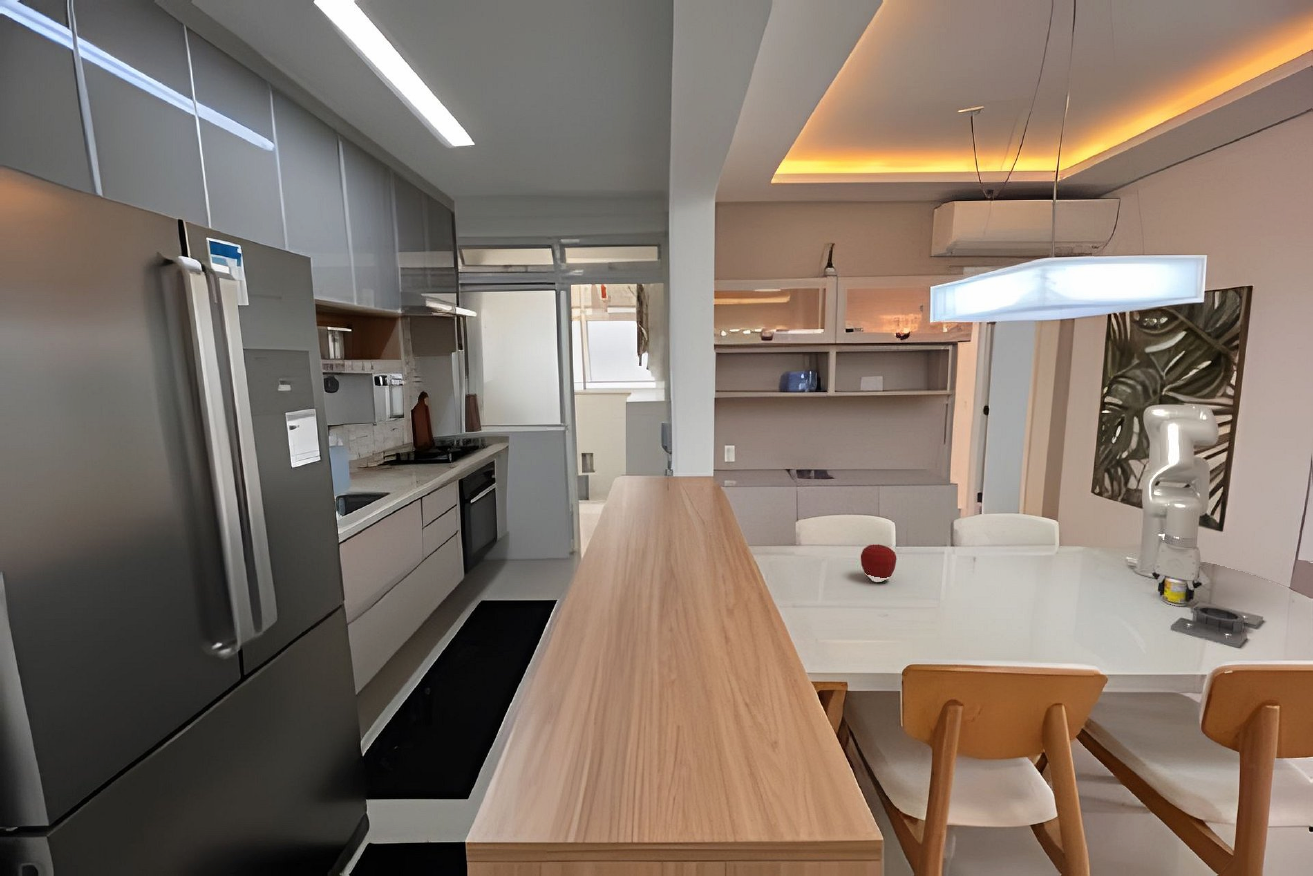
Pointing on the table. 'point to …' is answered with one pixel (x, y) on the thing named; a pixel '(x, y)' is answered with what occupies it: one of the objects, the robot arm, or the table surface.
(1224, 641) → the ring mounting bracket
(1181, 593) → the supplement bottle
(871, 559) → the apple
